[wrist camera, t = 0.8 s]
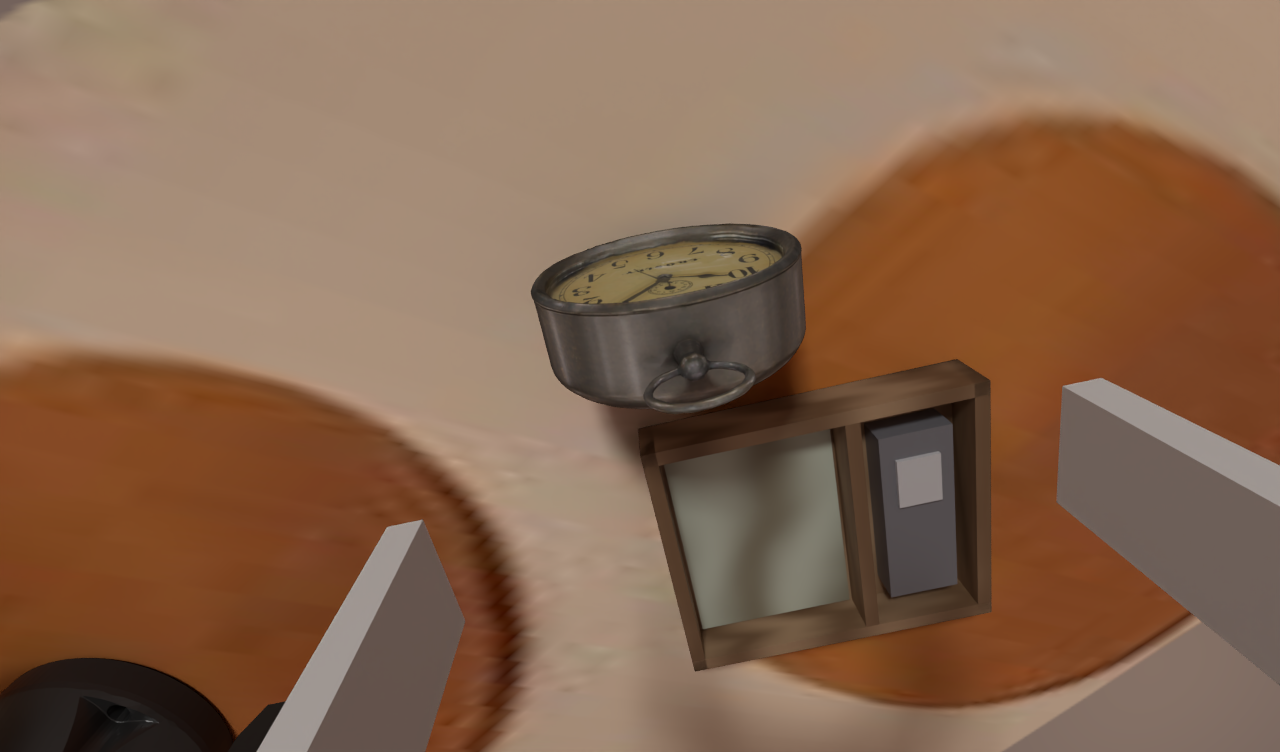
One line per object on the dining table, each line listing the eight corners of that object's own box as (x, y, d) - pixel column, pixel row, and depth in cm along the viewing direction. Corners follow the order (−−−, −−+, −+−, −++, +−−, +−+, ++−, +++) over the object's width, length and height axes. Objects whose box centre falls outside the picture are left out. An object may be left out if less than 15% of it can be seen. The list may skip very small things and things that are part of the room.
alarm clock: (758, 208, 30) (900, 276, 15) (768, 310, 32) (903, 459, 17) (545, 247, 31) (480, 352, 16) (568, 346, 33) (530, 524, 18)
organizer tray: (688, 632, 40) (694, 671, 37) (638, 428, 35) (640, 456, 32) (963, 576, 40) (991, 611, 37) (957, 359, 34) (990, 380, 31)
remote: (877, 575, 38) (893, 600, 36) (863, 423, 34) (880, 441, 32) (940, 562, 38) (959, 586, 36) (933, 408, 34) (955, 425, 32)
